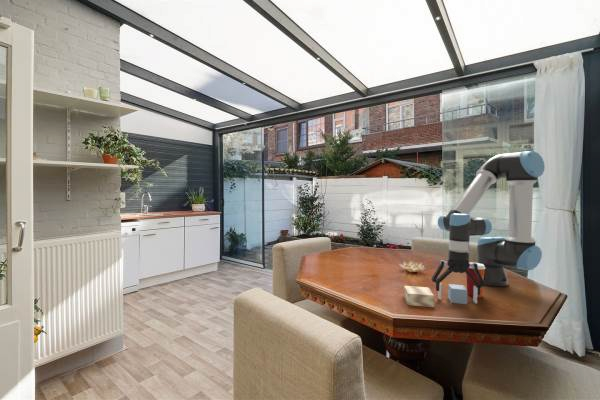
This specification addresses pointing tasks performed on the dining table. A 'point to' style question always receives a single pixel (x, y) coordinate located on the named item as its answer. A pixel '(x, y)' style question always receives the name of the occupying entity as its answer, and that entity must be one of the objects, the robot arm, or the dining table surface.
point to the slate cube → (457, 294)
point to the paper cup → (470, 283)
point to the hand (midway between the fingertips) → (457, 300)
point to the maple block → (418, 296)
